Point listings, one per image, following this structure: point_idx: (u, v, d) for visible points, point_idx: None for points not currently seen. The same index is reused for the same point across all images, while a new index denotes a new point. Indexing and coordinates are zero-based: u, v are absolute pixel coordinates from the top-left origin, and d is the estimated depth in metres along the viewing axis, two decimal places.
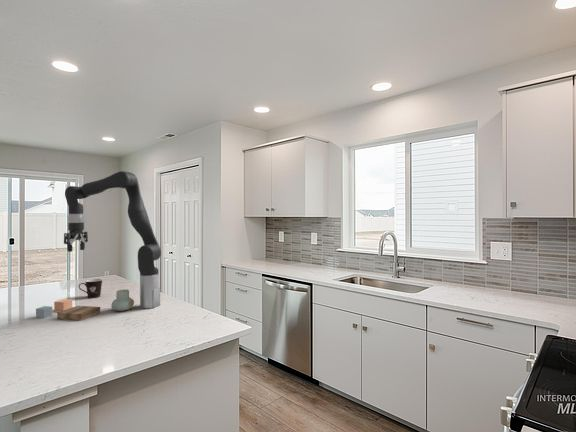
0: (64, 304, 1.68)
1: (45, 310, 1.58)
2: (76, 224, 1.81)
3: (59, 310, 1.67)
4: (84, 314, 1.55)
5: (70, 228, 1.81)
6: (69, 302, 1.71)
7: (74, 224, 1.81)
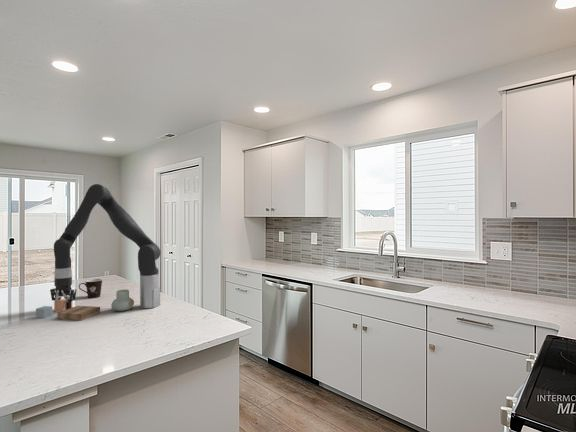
0: (64, 304, 1.68)
1: (45, 310, 1.58)
2: (71, 278, 1.72)
3: (59, 310, 1.67)
4: (84, 314, 1.55)
5: (69, 283, 1.69)
6: None
7: (71, 278, 1.71)
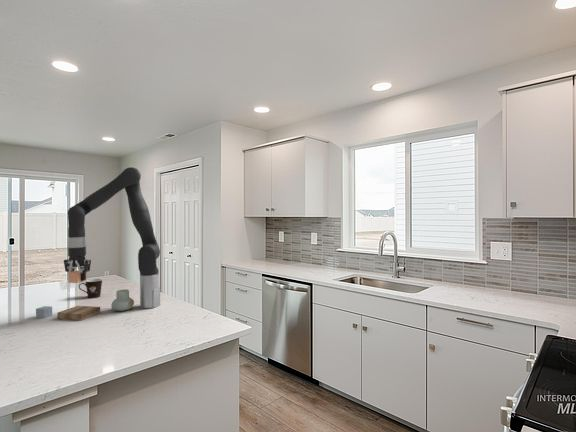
0: (78, 275, 1.59)
1: (45, 310, 1.58)
2: (85, 248, 1.64)
3: (73, 281, 1.59)
4: (84, 314, 1.55)
5: (83, 253, 1.61)
6: None
7: (85, 248, 1.63)
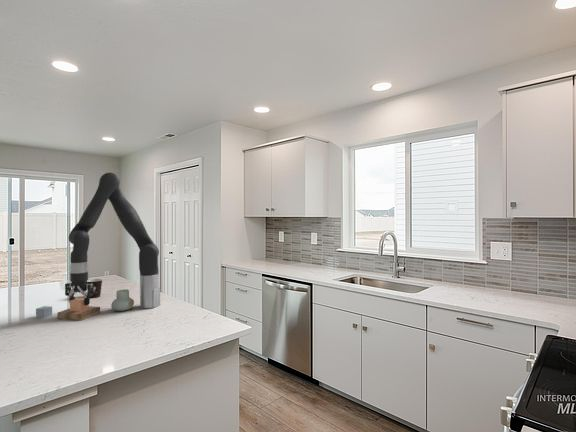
0: (80, 304, 1.58)
1: (45, 310, 1.58)
2: None
3: (75, 309, 1.58)
4: (84, 314, 1.55)
5: (85, 278, 1.59)
6: None
7: (87, 273, 1.62)
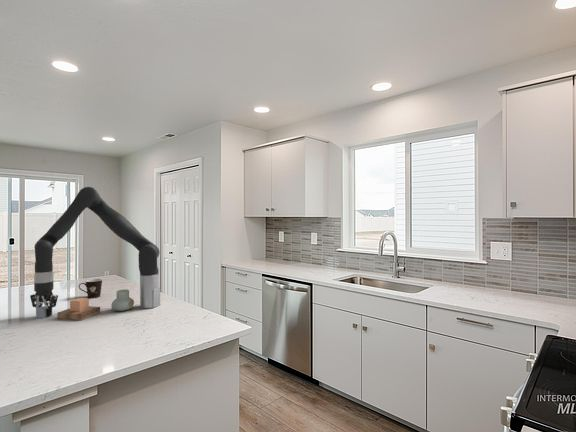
0: (80, 304, 1.58)
1: (45, 310, 1.57)
2: None
3: (75, 309, 1.58)
4: (84, 314, 1.55)
5: (50, 288, 1.58)
6: (85, 301, 1.61)
7: (52, 282, 1.60)
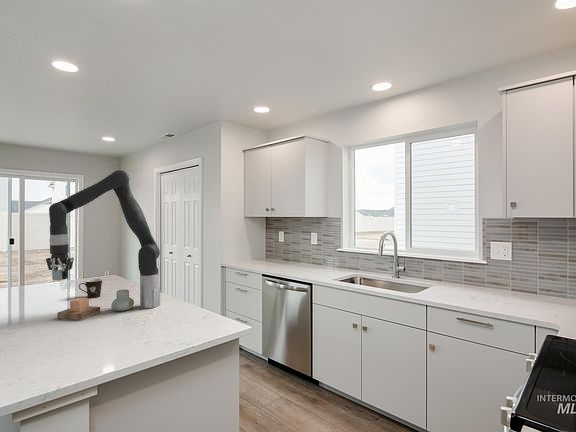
0: (80, 304, 1.58)
1: (61, 272, 1.58)
2: None
3: (75, 309, 1.58)
4: (84, 314, 1.55)
5: (65, 250, 1.59)
6: (85, 301, 1.61)
7: (68, 246, 1.61)
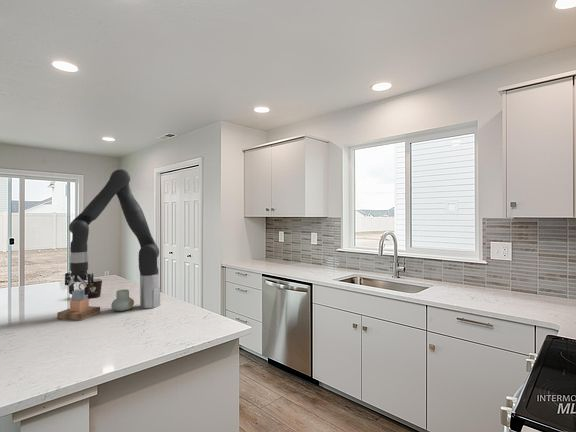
0: (80, 304, 1.58)
1: (81, 292, 1.59)
2: (87, 263, 1.62)
3: (75, 309, 1.58)
4: (84, 314, 1.55)
5: (85, 268, 1.59)
6: (85, 301, 1.61)
7: (87, 263, 1.61)
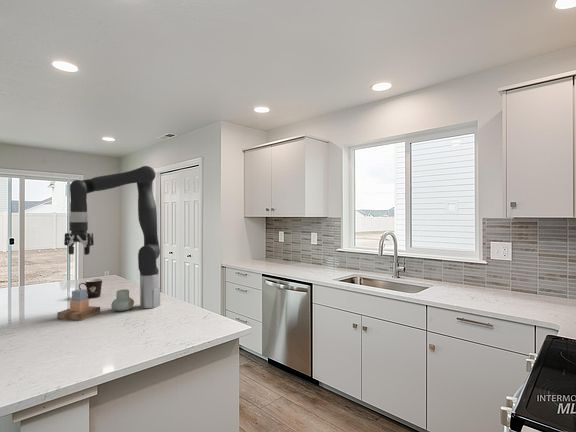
0: (80, 304, 1.58)
1: (81, 292, 1.59)
2: (87, 223, 1.62)
3: (75, 309, 1.58)
4: (84, 314, 1.55)
5: (85, 228, 1.59)
6: (85, 301, 1.61)
7: (87, 223, 1.61)
